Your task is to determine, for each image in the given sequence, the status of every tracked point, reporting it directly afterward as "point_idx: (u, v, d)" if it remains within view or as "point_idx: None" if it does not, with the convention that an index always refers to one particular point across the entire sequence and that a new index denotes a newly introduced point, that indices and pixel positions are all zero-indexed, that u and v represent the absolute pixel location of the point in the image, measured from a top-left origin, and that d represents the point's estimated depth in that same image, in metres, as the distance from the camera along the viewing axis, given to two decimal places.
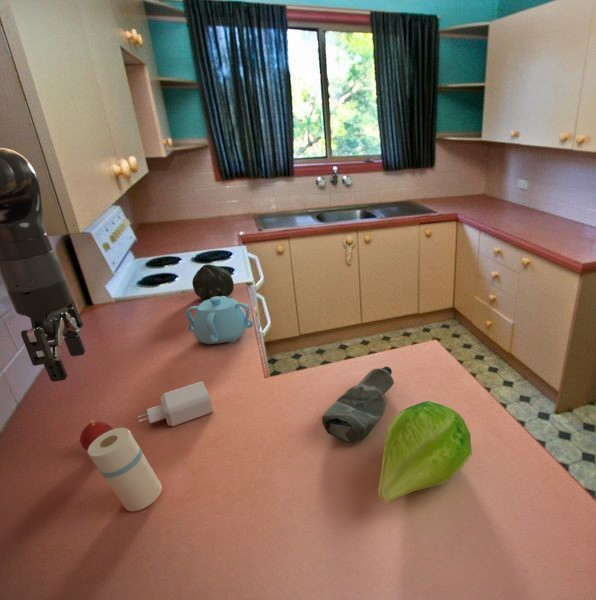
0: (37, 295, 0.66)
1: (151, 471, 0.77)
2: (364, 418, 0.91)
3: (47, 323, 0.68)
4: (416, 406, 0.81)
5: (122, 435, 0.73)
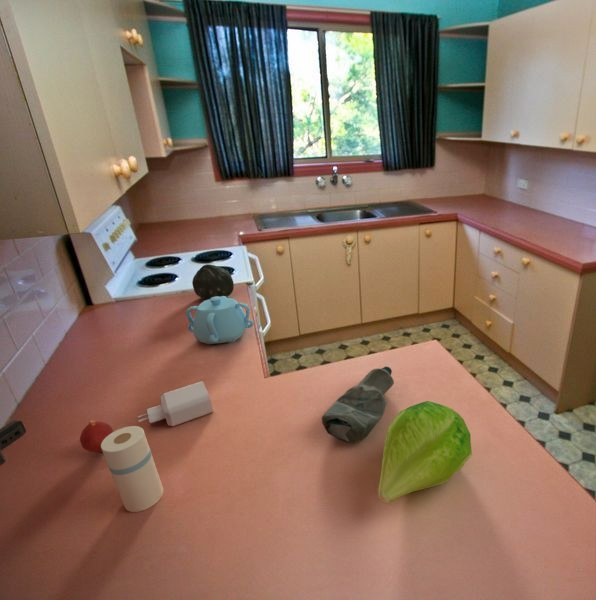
0: None
1: (156, 473, 0.78)
2: (364, 418, 0.91)
3: None
4: (416, 406, 0.81)
5: (136, 433, 0.74)
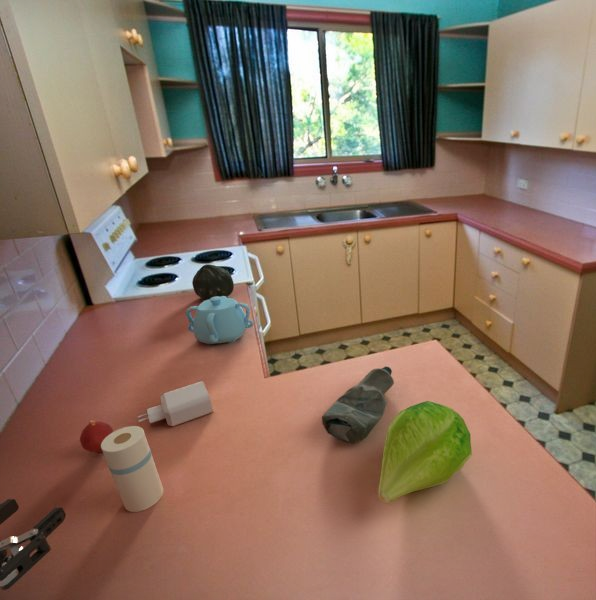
0: None
1: (156, 473, 0.78)
2: (364, 418, 0.91)
3: None
4: (416, 406, 0.81)
5: (136, 433, 0.74)
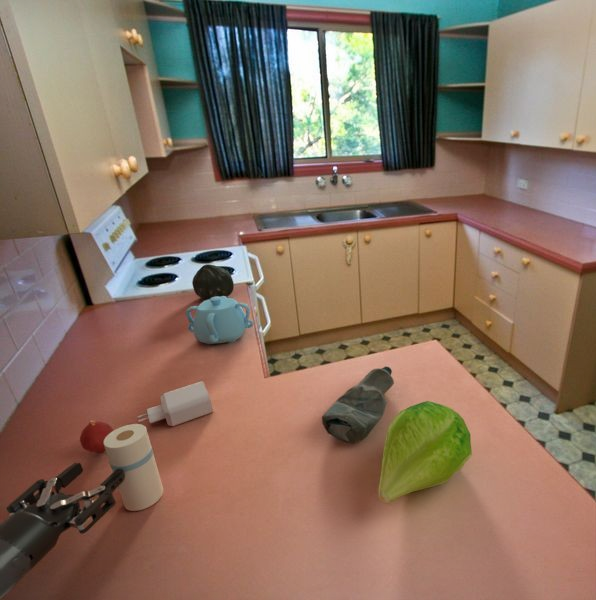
0: (31, 547, 0.59)
1: (157, 472, 0.78)
2: (364, 418, 0.91)
3: (63, 518, 0.63)
4: (416, 406, 0.81)
5: (139, 431, 0.75)
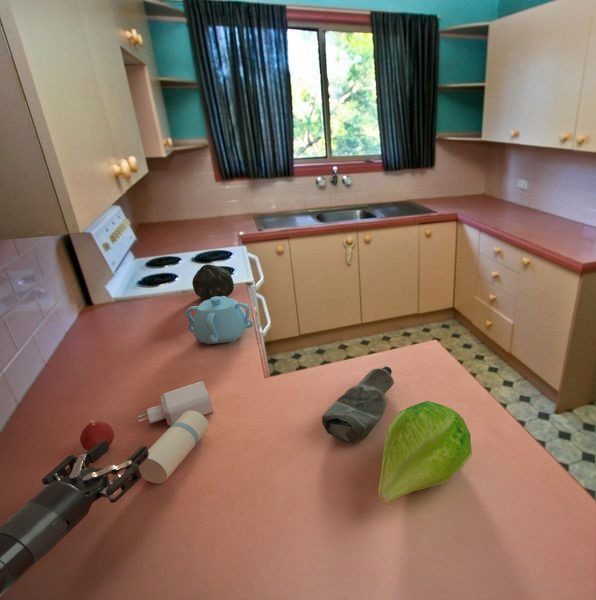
0: (67, 513, 0.64)
1: (182, 460, 0.85)
2: (364, 418, 0.91)
3: (95, 488, 0.68)
4: (416, 406, 0.81)
5: None
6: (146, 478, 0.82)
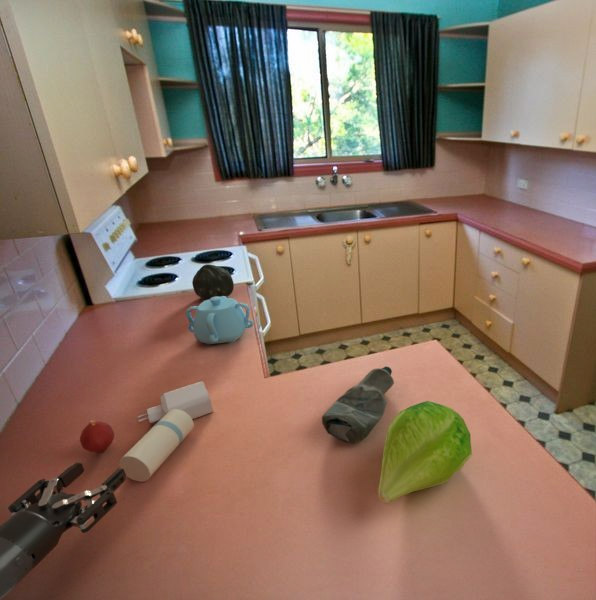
0: (33, 546, 0.59)
1: (160, 445, 0.84)
2: (364, 418, 0.91)
3: (65, 517, 0.63)
4: (416, 406, 0.81)
5: None
6: (143, 479, 0.82)
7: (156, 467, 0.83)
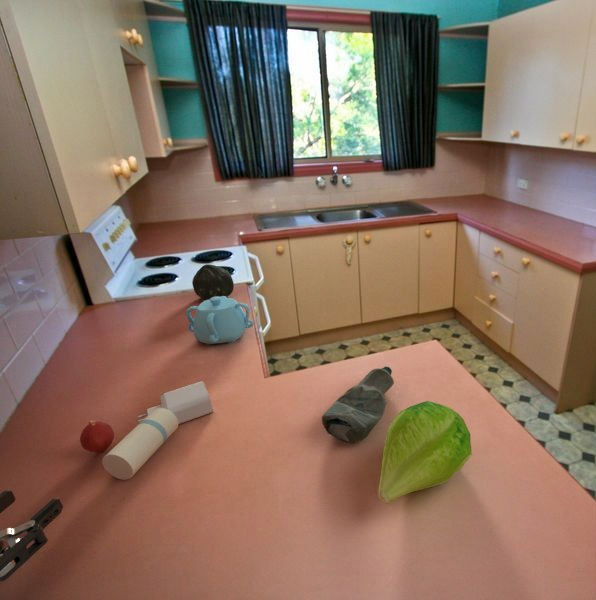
0: None
1: (128, 437, 0.85)
2: (364, 418, 0.91)
3: None
4: (416, 406, 0.81)
5: None
6: (129, 468, 0.81)
7: (131, 452, 0.82)
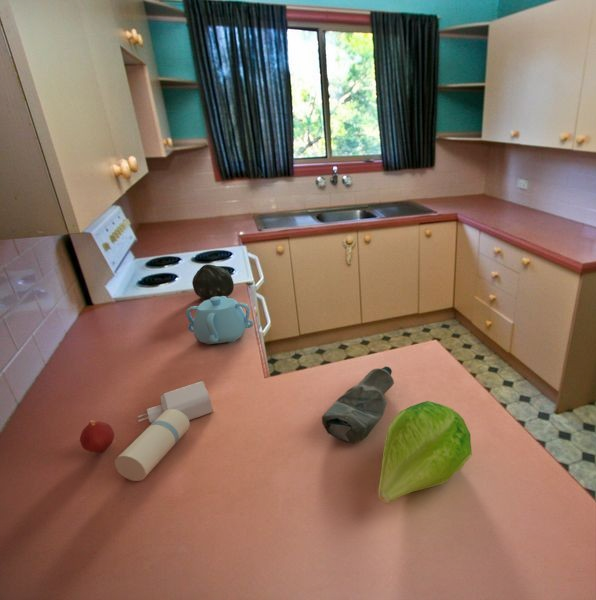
0: None
1: (152, 442, 0.84)
2: (364, 418, 0.91)
3: None
4: (416, 406, 0.81)
5: None
6: (141, 477, 0.82)
7: (151, 463, 0.82)
